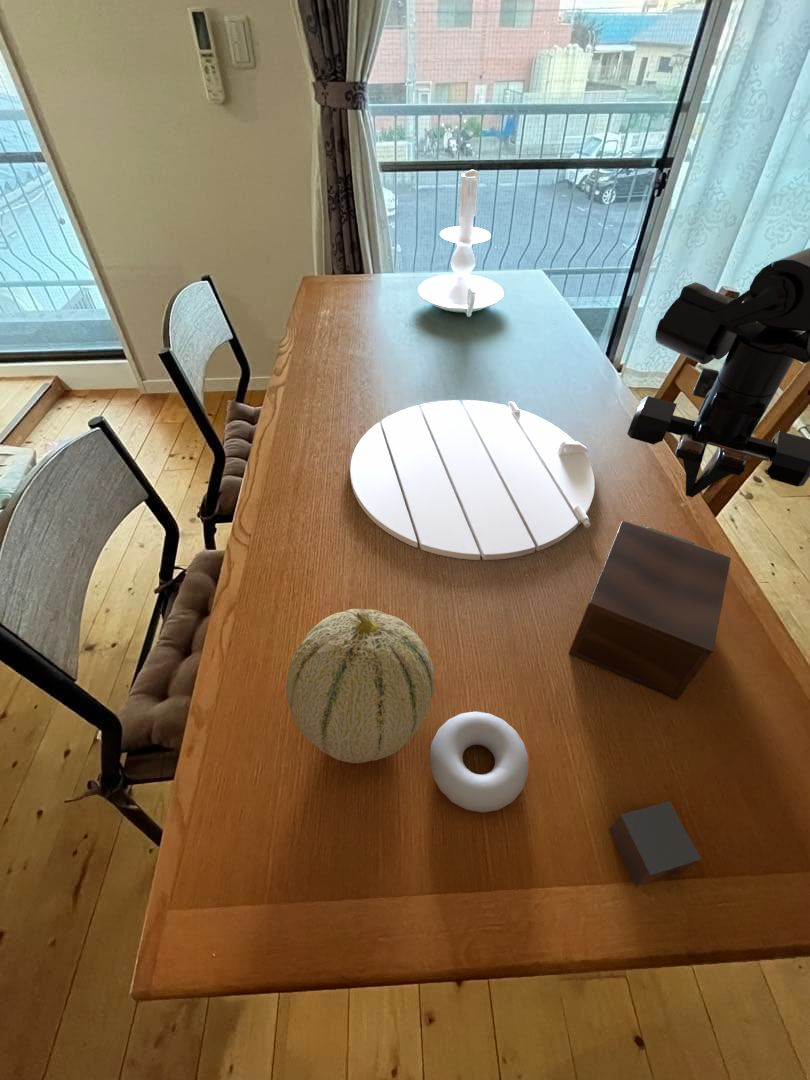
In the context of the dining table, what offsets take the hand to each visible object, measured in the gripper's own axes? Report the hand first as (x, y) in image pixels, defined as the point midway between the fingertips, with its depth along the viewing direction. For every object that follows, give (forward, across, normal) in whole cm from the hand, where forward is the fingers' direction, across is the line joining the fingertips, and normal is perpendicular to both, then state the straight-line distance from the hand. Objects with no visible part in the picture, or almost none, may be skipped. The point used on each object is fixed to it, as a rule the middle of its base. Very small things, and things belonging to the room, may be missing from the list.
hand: (689, 494), depth 69 cm
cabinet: (+12, 0, +14) cm, 18 cm away
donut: (+12, +10, +39) cm, 42 cm away
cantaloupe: (+12, +24, +40) cm, 48 cm away
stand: (+12, -6, +38) cm, 41 cm away
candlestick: (+13, +58, -61) cm, 85 cm away
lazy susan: (+12, +30, -5) cm, 33 cm away
